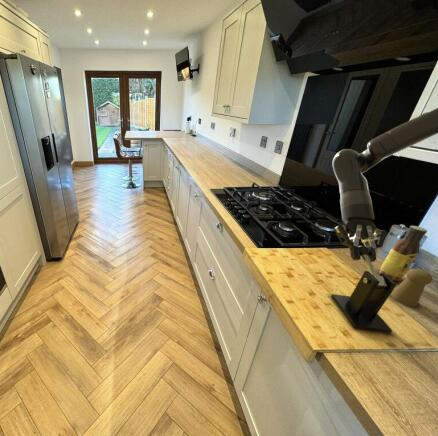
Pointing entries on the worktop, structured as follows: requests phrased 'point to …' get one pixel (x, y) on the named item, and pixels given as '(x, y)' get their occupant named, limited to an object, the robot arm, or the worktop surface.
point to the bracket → (366, 303)
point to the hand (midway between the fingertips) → (364, 260)
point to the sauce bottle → (403, 254)
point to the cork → (412, 287)
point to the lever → (371, 266)
